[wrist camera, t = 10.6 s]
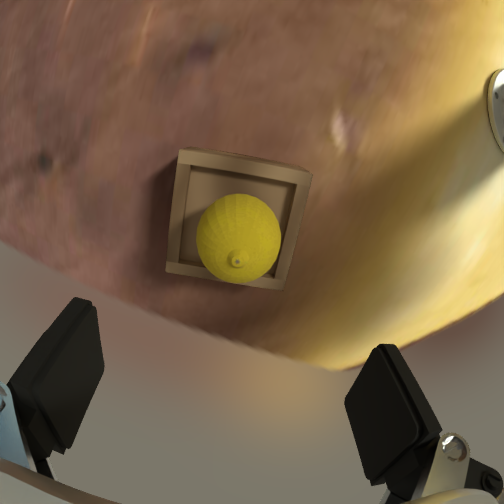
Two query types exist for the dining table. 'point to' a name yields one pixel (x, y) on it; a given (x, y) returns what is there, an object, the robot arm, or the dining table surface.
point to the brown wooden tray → (226, 183)
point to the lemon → (238, 238)
